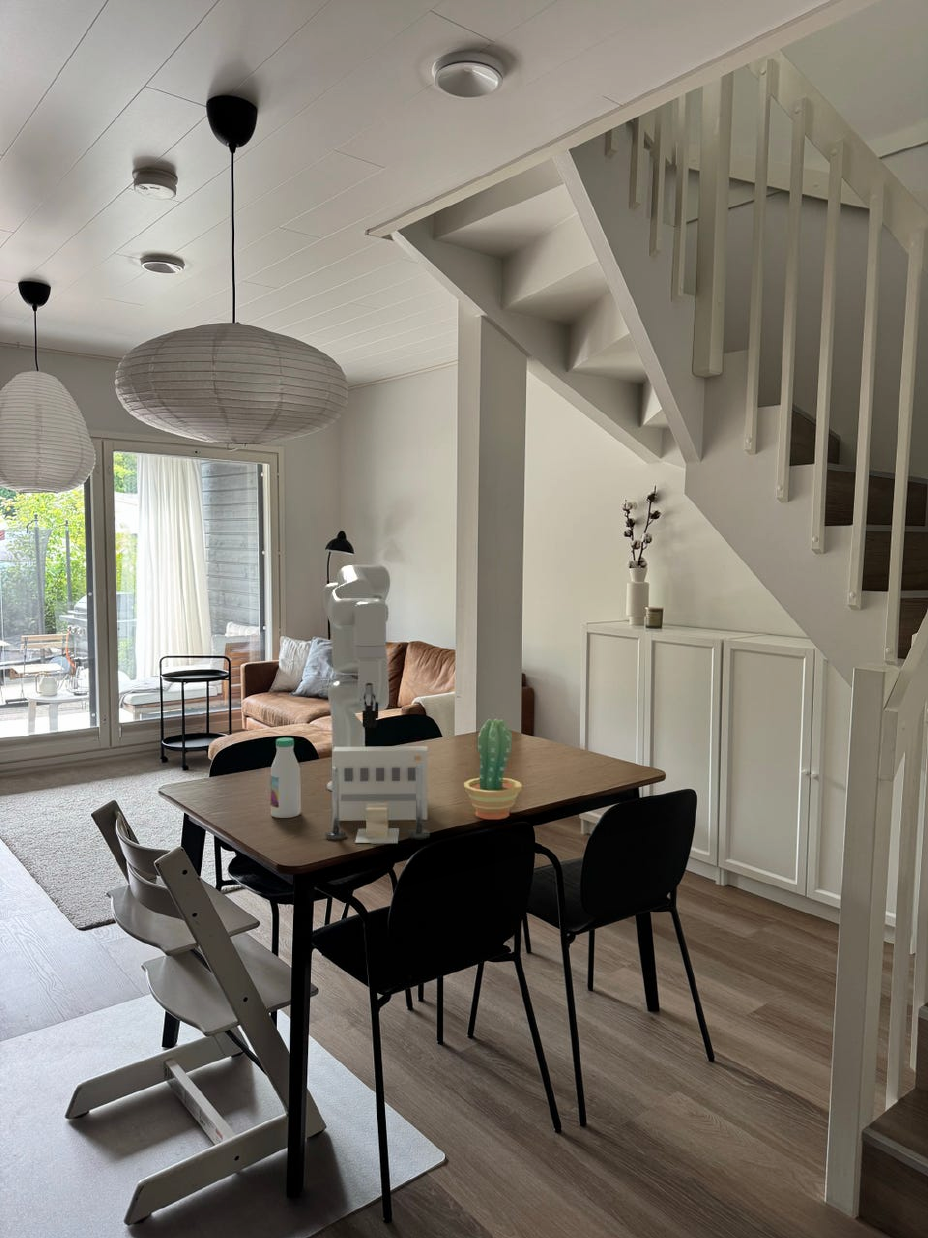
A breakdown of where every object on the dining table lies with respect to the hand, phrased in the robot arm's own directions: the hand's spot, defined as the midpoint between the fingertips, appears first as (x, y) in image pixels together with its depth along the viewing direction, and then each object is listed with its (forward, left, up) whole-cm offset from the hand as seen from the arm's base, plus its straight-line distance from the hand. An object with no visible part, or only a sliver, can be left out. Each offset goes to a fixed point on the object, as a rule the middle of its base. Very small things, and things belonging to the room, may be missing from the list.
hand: (370, 722), depth 208 cm
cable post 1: (+3, -8, -27) cm, 29 cm away
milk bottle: (-16, -23, -27) cm, 40 cm away
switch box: (-13, +2, -27) cm, 30 cm away
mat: (+3, +2, -27) cm, 27 cm away
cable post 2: (+3, +12, -27) cm, 30 cm away
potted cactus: (-14, +31, -27) cm, 44 cm away
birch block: (+3, +2, -27) cm, 27 cm away
